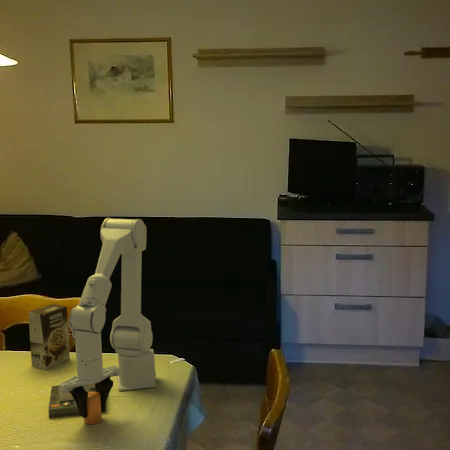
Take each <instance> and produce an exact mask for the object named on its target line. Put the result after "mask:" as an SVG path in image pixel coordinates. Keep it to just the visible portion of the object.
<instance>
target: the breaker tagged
mask: <svg viewBox="0 0 450 450" xmlns="http://www.w3.org/2000/svg"><path fill="white" fill-rule="evenodd" d="M59 397H60V401H68V400H74V398H73V396H72V395H71V393H70V392H68V393H67V394H62V393H61V392H60V391H59Z"/></svg>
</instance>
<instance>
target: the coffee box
mask: <svg viewBox="0 0 450 450" xmlns="http://www.w3.org/2000/svg"><path fill="white" fill-rule="evenodd" d="M27 313H28V325H29V328H28V329H29V342H30V343H29V344H30V345H29V346H30V358H31V360H30V361H31V366H32V367H35V368H38V369H42V370H45V371H46V370H49V369H52V368H54V367H56V366H58V365H60V364H62V363H65V362H68V361H70V359H71V356H70V355H71V354H70V339H69V324H68V321H69V319H68V318H69V317H68V307H67V306H65V305H61V304H54V303H51V304H47V305H45V306H41V307H39V308H36V309H32V310H28V312H27Z"/></svg>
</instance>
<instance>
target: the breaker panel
mask: <svg viewBox="0 0 450 450" xmlns="http://www.w3.org/2000/svg"><path fill="white" fill-rule="evenodd" d="M83 388H85V391H86V392H96V389H95V388H90V384H89V385H86V386H83ZM48 403H49V404H48V409H47V410H48V418H49V419H50V418H57V417H65V416H67V417H68V416H77V415H80V413H79V410H78V407H77V404H76V402H75V400H68V401H60V397H59V385H51V390H50V396H49V402H48ZM106 407H107V406H105V411H104V412H106V409H107V408H106ZM101 413H102V411H101Z"/></svg>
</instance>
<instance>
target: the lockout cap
mask: <svg viewBox="0 0 450 450" xmlns="http://www.w3.org/2000/svg"><path fill="white" fill-rule="evenodd" d="M102 416H103V415H102V412H101V396H100V393H99V392H88V398H87V418H83V422H84V423H85V424H88V425H94V424H95V425H96V424H98V423H100V422H101V421H102Z"/></svg>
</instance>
